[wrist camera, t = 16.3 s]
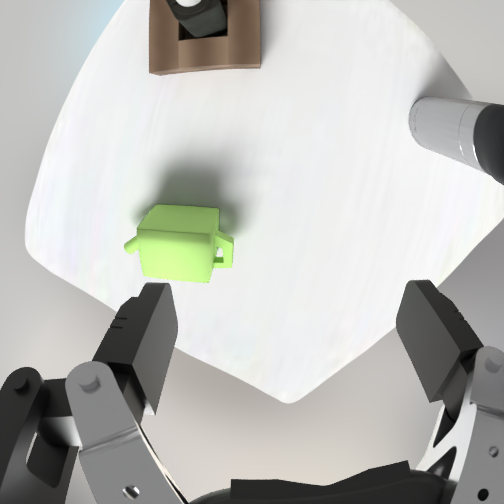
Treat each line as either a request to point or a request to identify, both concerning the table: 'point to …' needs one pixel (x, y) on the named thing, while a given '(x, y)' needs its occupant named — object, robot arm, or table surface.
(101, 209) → the table surface
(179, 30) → the holder
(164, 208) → the green square pitcher
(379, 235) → the table surface
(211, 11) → the candle
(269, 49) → the table surface
